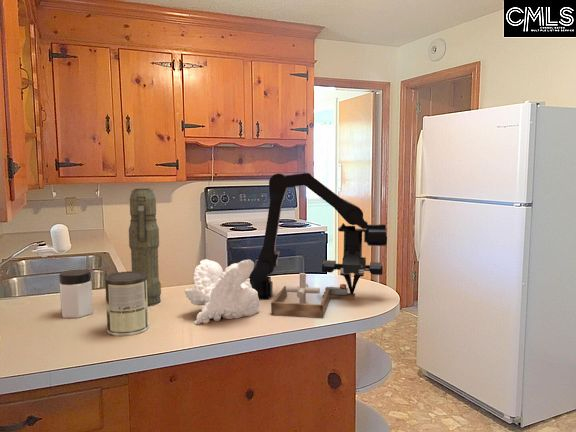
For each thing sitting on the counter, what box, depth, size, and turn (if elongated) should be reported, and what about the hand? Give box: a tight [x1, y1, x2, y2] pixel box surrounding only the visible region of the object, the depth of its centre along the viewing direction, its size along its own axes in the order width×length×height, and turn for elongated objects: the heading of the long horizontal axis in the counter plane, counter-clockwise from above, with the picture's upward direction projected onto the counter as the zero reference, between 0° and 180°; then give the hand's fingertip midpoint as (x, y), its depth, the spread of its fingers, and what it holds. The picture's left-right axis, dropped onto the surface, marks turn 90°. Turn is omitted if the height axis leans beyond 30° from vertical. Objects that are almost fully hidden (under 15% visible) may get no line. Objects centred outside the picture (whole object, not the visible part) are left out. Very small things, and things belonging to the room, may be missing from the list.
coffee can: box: [104, 270, 150, 337], centre depth 121 cm, size 10×10×14 cm
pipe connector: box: [285, 272, 321, 304], centre depth 140 cm, size 10×10×10 cm
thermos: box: [128, 188, 162, 307], centre depth 144 cm, size 9×12×35 cm
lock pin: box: [324, 283, 349, 296], centre depth 151 cm, size 7×2×4 cm, turn 79°
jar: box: [58, 268, 94, 319], centre depth 134 cm, size 9×8×12 cm
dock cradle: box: [270, 285, 356, 319], centre depth 142 cm, size 22×23×4 cm
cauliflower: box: [183, 258, 261, 325], centre depth 132 cm, size 19×20×20 cm
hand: (351, 294), depth 150 cm, fingers closed
